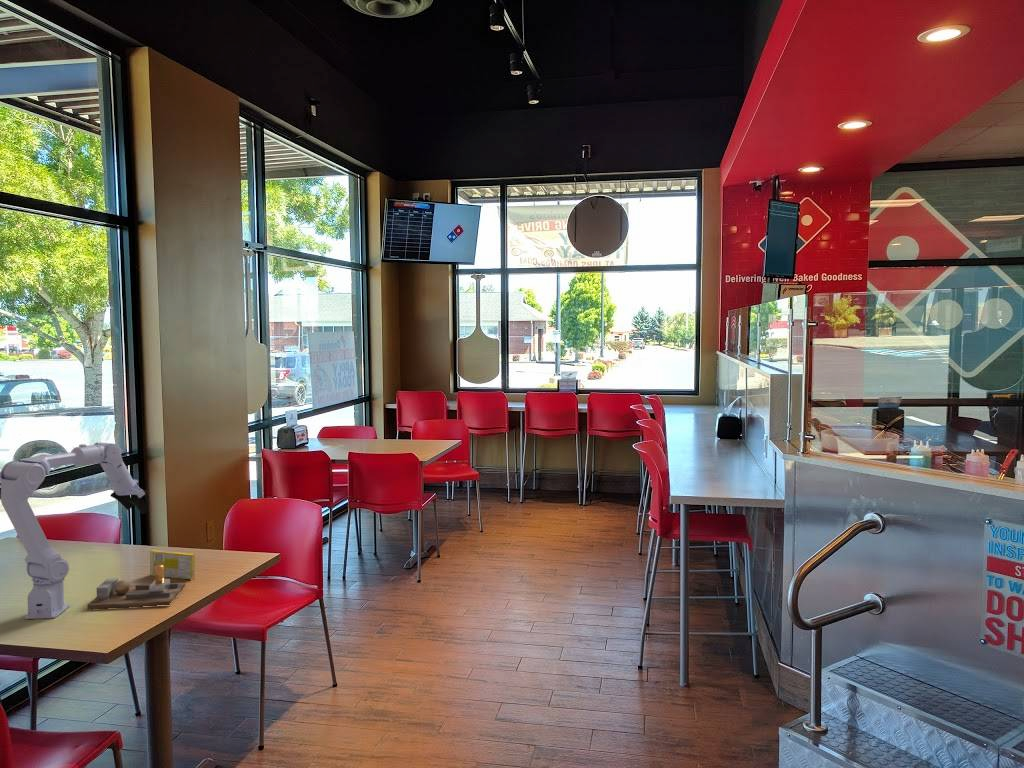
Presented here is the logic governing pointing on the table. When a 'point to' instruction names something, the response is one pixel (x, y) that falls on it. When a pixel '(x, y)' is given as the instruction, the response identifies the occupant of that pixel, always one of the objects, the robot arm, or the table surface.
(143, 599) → the press bench
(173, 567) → the candy box
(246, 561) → the table surface
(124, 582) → the tan oval solid
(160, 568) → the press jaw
